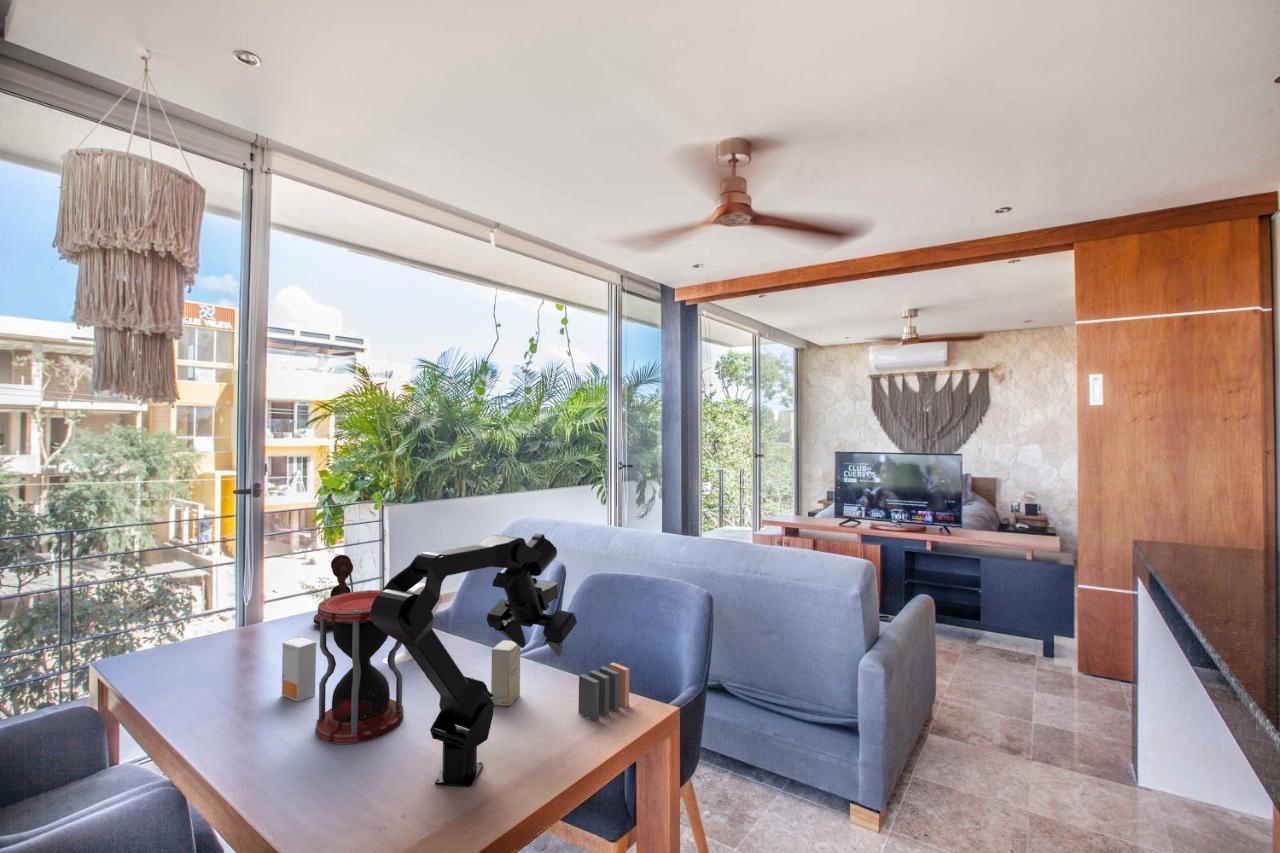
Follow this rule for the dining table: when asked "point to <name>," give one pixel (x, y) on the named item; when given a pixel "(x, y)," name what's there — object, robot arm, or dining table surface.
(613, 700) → the tile
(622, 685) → the end tile
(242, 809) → the dining table surface
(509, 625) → the robot arm
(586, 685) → the tile
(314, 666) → the skincare box
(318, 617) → the dark brown tall piece
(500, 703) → the skincare box
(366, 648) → the hourglass
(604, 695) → the tile
